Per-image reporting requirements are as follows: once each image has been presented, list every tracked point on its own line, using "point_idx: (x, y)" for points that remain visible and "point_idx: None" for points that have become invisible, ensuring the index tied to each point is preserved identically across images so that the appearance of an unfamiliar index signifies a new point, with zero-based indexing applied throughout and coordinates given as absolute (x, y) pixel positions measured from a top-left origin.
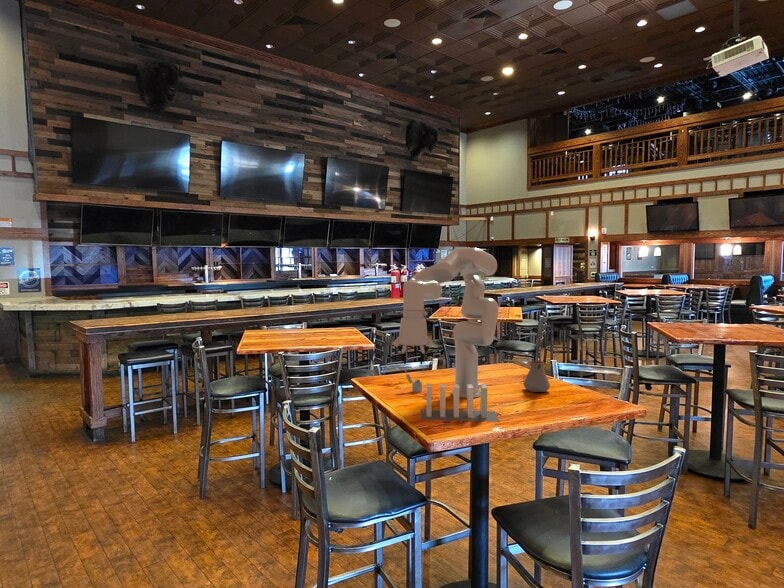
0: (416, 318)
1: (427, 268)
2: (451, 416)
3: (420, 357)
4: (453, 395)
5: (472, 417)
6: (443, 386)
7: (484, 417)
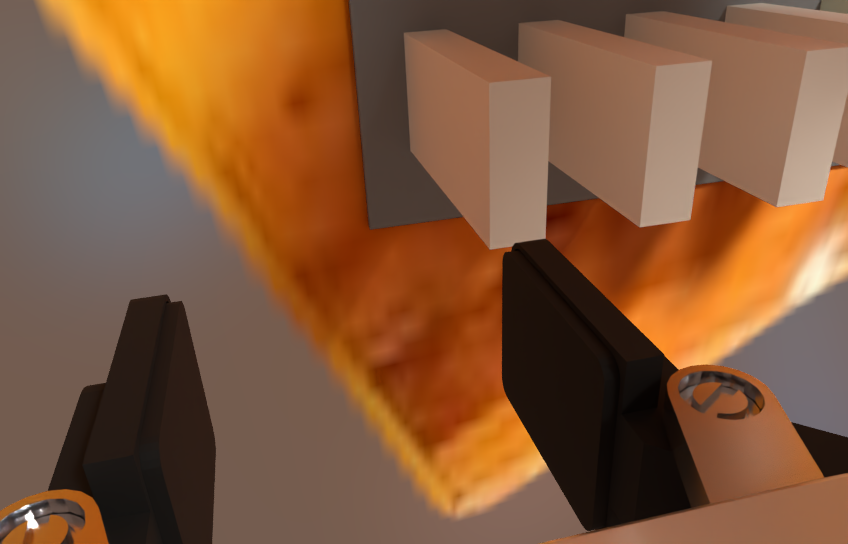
0: None
1: None
2: None
3: (559, 480)
4: (718, 39)
5: None
6: (674, 194)
7: None
